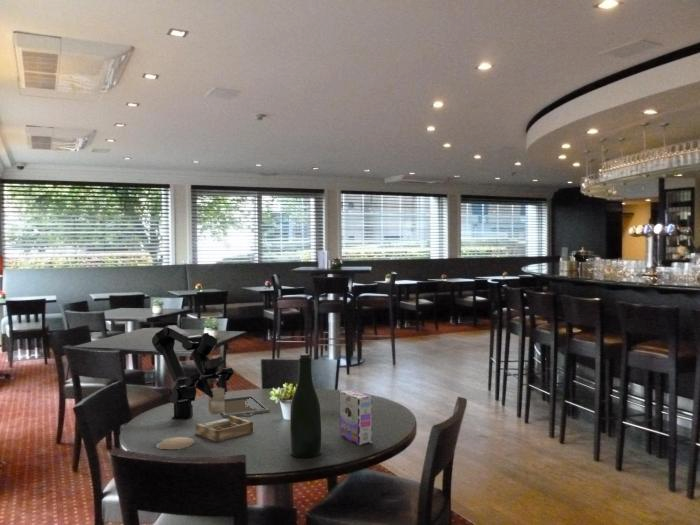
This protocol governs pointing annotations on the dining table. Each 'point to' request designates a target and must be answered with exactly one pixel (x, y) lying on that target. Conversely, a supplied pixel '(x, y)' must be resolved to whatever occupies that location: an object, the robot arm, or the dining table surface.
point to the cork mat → (176, 443)
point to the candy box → (356, 417)
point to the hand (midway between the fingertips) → (218, 395)
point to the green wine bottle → (305, 414)
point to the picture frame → (241, 407)
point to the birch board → (217, 401)
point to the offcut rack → (224, 428)
